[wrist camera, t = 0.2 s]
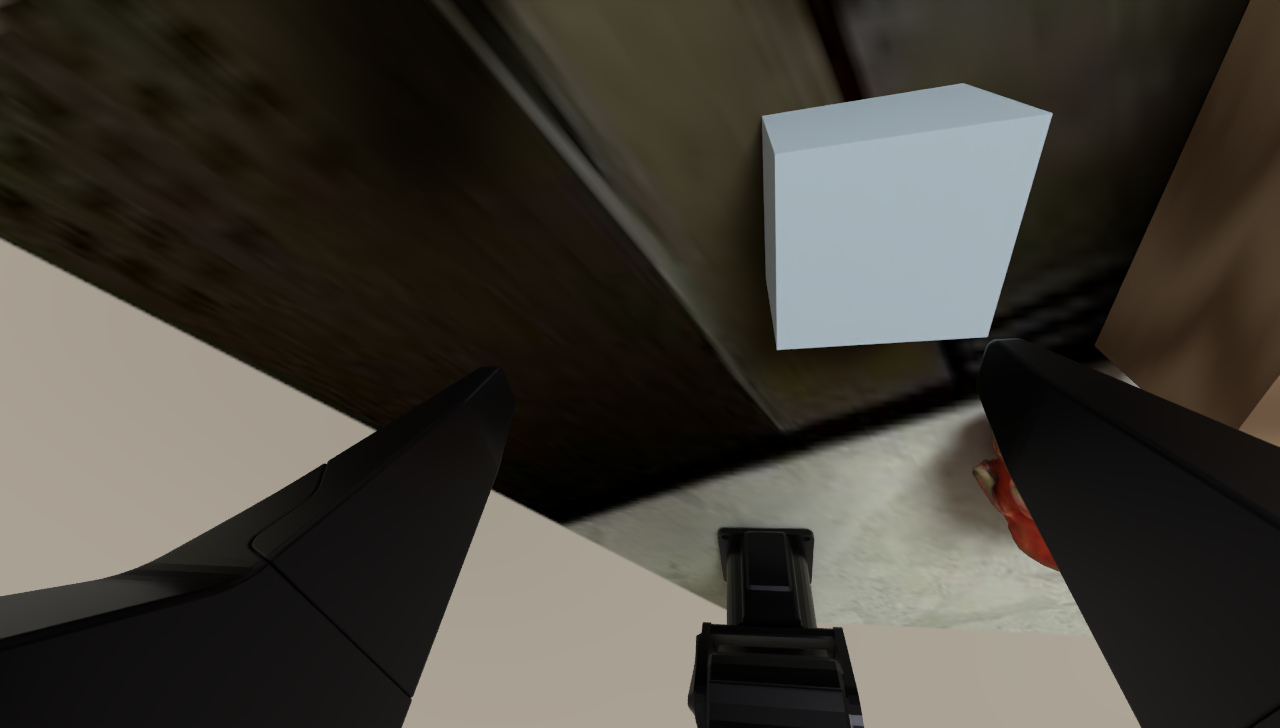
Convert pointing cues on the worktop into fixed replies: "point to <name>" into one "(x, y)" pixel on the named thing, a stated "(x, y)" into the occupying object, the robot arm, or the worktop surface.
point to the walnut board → (1215, 252)
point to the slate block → (894, 214)
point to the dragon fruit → (1012, 508)
